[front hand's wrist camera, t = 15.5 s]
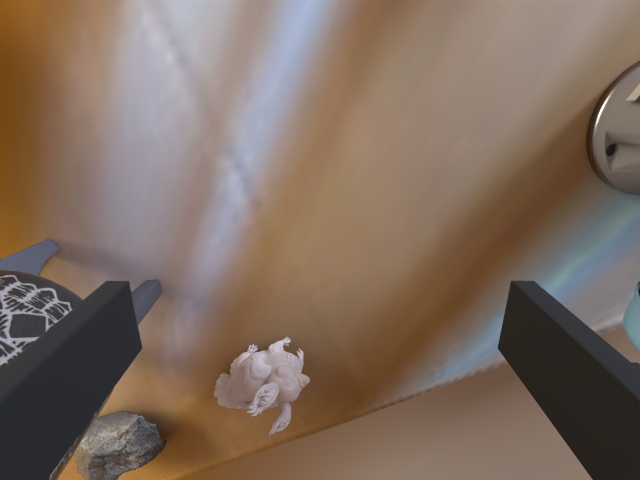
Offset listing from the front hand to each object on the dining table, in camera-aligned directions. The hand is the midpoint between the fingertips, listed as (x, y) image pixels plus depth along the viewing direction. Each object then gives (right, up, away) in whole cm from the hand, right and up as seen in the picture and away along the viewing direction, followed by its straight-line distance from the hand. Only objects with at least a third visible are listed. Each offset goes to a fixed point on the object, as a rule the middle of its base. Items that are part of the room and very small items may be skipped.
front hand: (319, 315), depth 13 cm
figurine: (-8, -15, +40) cm, 43 cm away
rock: (-29, -27, +44) cm, 59 cm away
